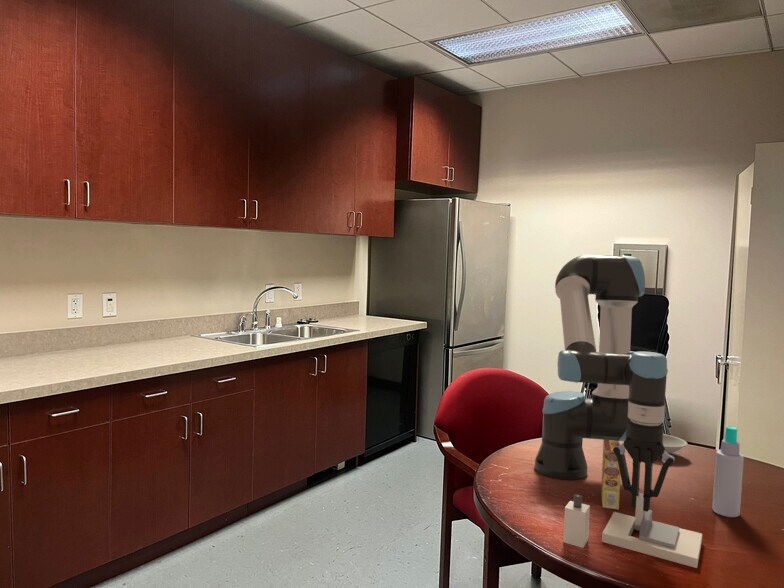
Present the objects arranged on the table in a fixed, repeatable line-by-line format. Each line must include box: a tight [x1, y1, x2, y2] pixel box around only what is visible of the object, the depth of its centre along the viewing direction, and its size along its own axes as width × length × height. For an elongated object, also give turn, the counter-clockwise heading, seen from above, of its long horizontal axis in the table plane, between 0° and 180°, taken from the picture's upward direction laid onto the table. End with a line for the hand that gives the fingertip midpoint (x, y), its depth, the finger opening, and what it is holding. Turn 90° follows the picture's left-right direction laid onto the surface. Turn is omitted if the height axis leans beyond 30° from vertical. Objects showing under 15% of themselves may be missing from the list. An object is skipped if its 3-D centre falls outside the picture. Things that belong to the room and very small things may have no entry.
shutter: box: [638, 509, 680, 548], centre depth 128 cm, size 7×10×3 cm
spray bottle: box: [711, 425, 745, 518], centre depth 144 cm, size 6×6×22 cm
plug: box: [562, 494, 591, 549], centre depth 128 cm, size 4×4×10 cm
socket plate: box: [601, 511, 703, 569], centre depth 129 cm, size 19×13×2 cm
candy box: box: [601, 440, 621, 510], centre depth 149 cm, size 9×4×15 cm, turn 162°
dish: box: [663, 433, 688, 454], centre depth 188 cm, size 18×14×5 cm
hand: (639, 522), depth 130 cm, fingers closed
